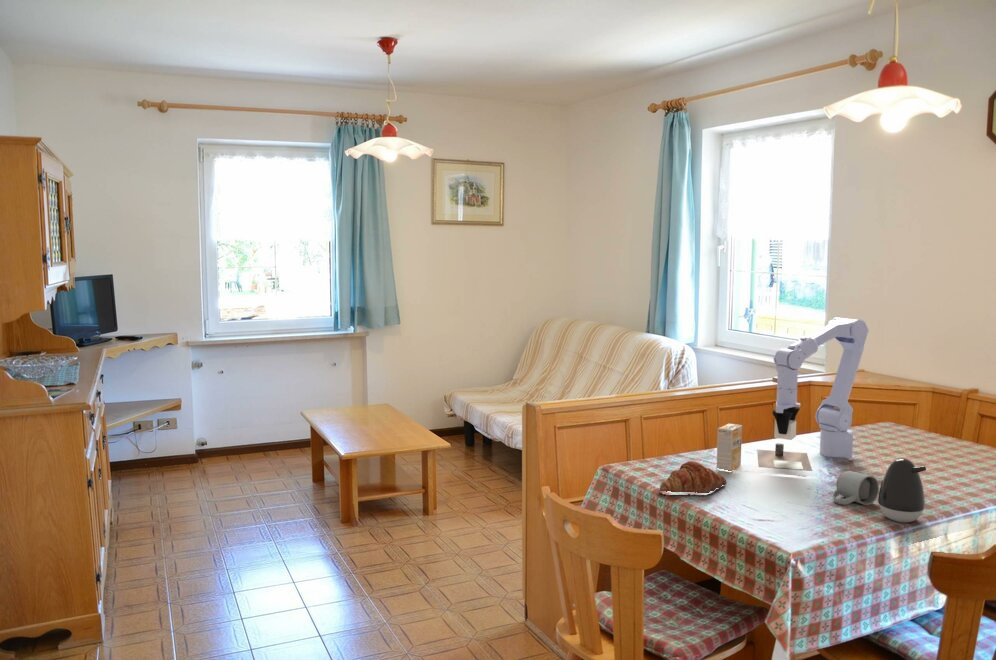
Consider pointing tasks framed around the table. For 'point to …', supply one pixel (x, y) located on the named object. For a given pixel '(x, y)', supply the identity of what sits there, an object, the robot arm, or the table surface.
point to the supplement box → (729, 446)
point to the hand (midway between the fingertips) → (785, 432)
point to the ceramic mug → (856, 488)
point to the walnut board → (783, 459)
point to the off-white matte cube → (790, 432)
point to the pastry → (693, 479)
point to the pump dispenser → (902, 491)
